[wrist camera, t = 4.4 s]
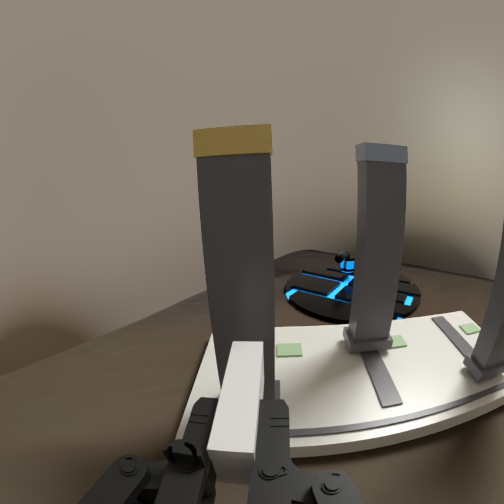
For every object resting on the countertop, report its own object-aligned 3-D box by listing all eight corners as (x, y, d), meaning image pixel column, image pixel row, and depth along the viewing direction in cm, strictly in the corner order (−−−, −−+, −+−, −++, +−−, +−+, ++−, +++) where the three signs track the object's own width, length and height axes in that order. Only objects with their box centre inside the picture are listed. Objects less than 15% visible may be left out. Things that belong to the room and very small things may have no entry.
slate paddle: (349, 353, 24) (362, 141, 19) (342, 334, 27) (351, 145, 22) (391, 348, 24) (412, 146, 18) (381, 331, 27) (396, 148, 21)
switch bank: (179, 451, 16) (174, 438, 16) (215, 338, 31) (214, 325, 31) (524, 393, 14) (532, 379, 13) (458, 321, 29) (462, 309, 28)
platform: (405, 344, 27) (416, 293, 26) (256, 302, 41) (254, 260, 39) (426, 281, 43) (431, 246, 42) (323, 262, 57) (323, 231, 55)
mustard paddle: (218, 416, 17) (185, 130, 12) (224, 387, 21) (201, 136, 15) (280, 418, 17) (277, 122, 12) (279, 388, 20) (276, 132, 15)
